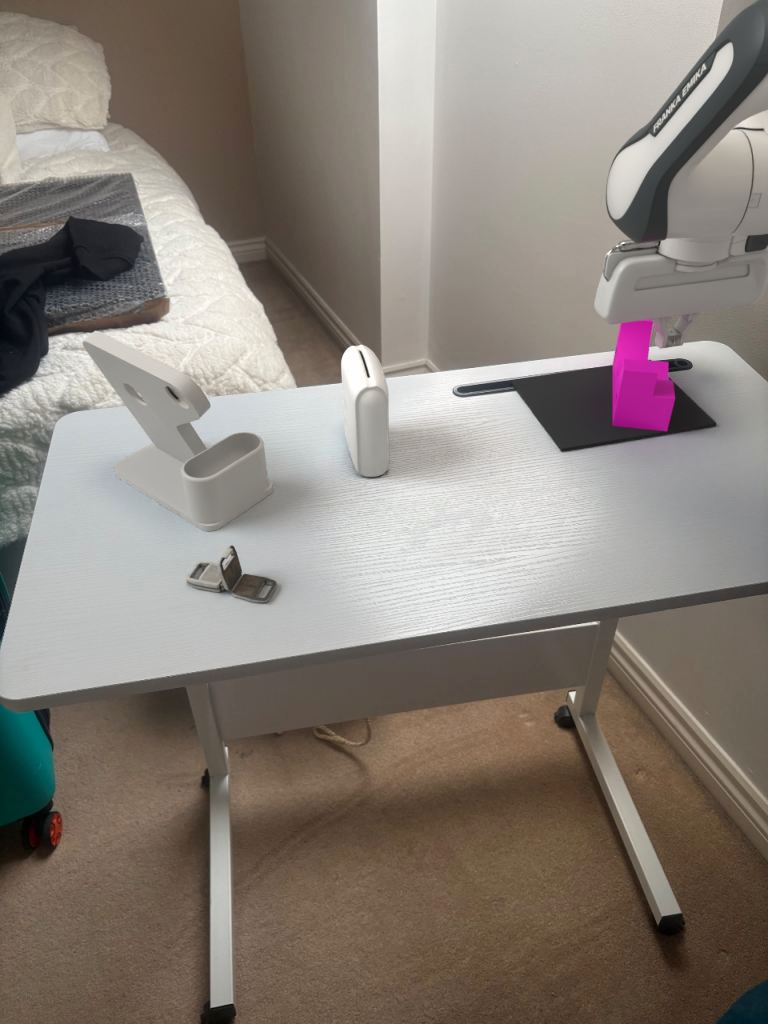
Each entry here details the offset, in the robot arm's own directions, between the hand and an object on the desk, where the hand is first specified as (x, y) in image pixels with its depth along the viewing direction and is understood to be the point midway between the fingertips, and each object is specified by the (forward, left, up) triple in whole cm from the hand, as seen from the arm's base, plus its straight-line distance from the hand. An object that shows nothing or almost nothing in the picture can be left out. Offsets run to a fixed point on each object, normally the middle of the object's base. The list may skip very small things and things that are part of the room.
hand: (668, 345), depth 100 cm
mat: (+5, +4, -7) cm, 10 cm away
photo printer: (+28, +26, -7) cm, 39 cm away
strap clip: (+30, +51, -7) cm, 60 cm away
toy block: (+2, +2, -7) cm, 7 cm away
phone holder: (+43, +39, -7) cm, 59 cm away
